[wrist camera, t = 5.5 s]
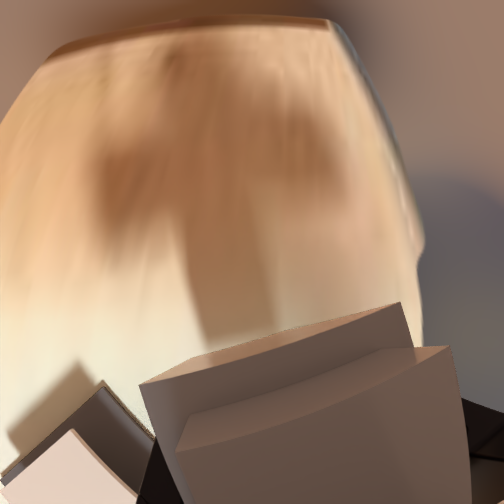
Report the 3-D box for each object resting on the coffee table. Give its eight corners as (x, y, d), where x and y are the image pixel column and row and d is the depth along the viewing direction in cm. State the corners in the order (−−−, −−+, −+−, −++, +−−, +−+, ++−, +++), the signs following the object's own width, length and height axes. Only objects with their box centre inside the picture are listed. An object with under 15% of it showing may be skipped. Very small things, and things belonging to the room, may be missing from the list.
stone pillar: (313, 417, 15) (497, 525, 3) (221, 446, 14) (237, 645, 2) (286, 330, 16) (467, 280, 4) (191, 357, 15) (97, 405, 3)
